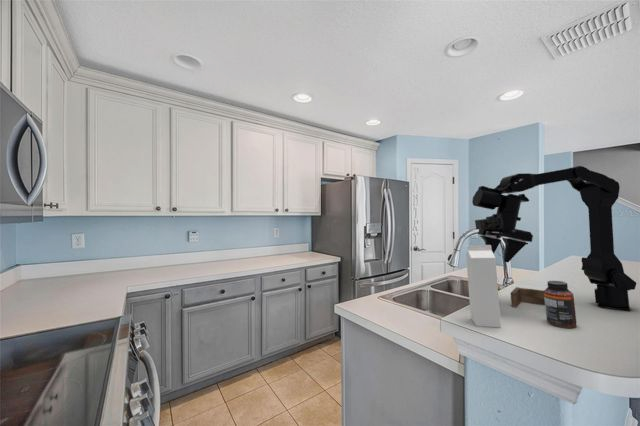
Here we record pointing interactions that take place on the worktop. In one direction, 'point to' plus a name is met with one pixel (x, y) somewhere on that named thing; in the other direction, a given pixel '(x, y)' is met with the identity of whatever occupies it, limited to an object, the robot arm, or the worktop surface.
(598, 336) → the worktop surface
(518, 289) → the u-shaped wooden frame
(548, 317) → the supplement bottle
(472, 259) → the milk
